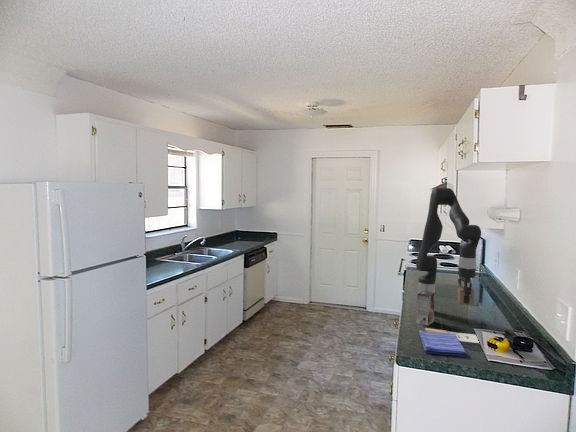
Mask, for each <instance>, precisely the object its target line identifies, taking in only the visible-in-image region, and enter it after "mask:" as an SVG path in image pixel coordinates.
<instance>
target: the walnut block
mask: <svg viewBox="0 0 576 432" xmlns="http://www.w3.org/2000/svg"><path fill="white" fill-rule="evenodd" d="M457 291H458V293H457V302H458V304H459V305H461V306H462V305H463V306H472V307H473V306H474V303H475V301H474V298H475V290H474V289H473V288H472V287H471V295H470V296H469V304H466V303H464V290H463V288H462V287H461V286H459V287H458V290H457ZM466 292H467V293H469V291H466Z"/></svg>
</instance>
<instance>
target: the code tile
mask: <svg viewBox="0 0 576 432" xmlns="http://www.w3.org/2000/svg"><path fill="white" fill-rule="evenodd" d="M449 334H456V336H457V338H458V340H459V341H460V342H466V343H473V344H474V343H475V344H480V343H479V342H480V341H478V340H479V338H478V336H477V335H476V334H473V333H464V332H455V331H449Z"/></svg>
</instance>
